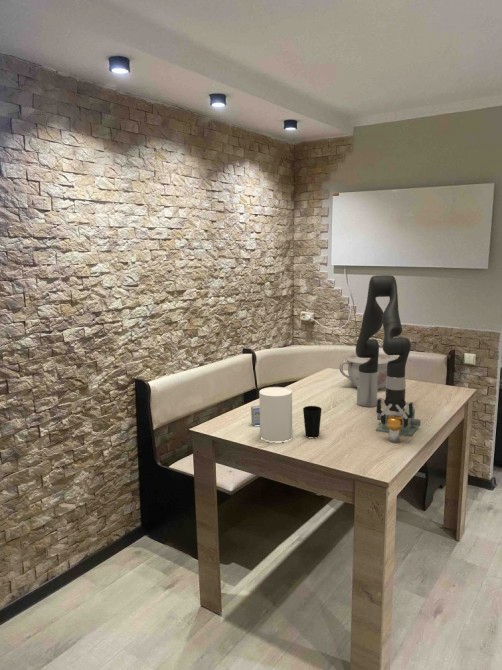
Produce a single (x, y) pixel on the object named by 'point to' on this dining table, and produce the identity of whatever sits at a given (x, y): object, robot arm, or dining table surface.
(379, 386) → the chamber pot
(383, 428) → the grey-green knobbed device
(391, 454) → the dining table surface
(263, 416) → the canister
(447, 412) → the dining table surface
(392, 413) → the bar
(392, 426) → the orange domed cylinder
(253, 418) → the medicine box
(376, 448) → the dining table surface
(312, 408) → the cup
